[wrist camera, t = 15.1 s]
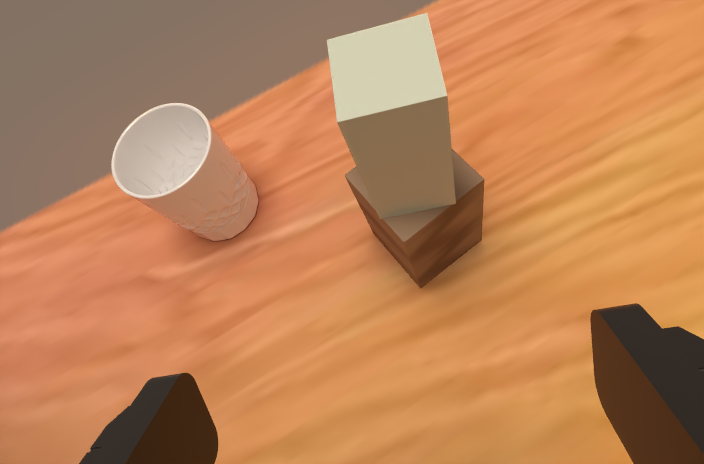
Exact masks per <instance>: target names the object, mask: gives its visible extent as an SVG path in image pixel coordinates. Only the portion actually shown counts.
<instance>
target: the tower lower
mask: <svg viewBox="0 0 704 464" xmlns="http://www.w3.org/2000/svg"><path fill="white" fill-rule="evenodd" d="M362 211H363V210H362ZM363 213H364V215H365V217H366V219H367V221H368V223H369V225H370V227H371V229H372V231H373V233H374V234H375V236H376V237H377V238H378V239H379V240H380V241H381V243H382V244H383V245H384V246H385V247H386V248H387V250H388V251H389V252H390V253H391V254H392V256H393V257H394V258H395V259H396V260H397V261H398V263H399V264H400V265H401V266H402V267H403V268H404V270H405V271H406V272H407V273H408V274H409V275H410V277H411V278H412V279H413V280H414V281H415V282H416V284H417V285H418V286H419V287H420V288H422V287H423V286H424V285H426V284H427V283H428V282H429V281H431V280H432V279H433V278H434V277H436V276H437V275H438V274H439V273H441V272H442V271H443V270H444V269H446V268H447V267H448V266H449V265H451V264H452V263H453V262H454V261H456V260H457V259H458V258H459V257H461V256H462V255H463V254H464V253H466V252H467V251H468V250H469V249H471V248H472V247H473V246H474V245H476V244H477V243H478V242H479V241H481V240H482V218H483V214H482V215H481V216H479V217H478V218H477V219H476V220H474V221H473V222H472V223H471V224H469V225H468V226H467V227H466V228H464V229H463V230H462V231H461V232H459V233H458V234H457V235H456V236H454V237H453V238H452V239H451V240H449V241H448V242H447V243H446V244H444V245H443V246H442V247H441V248H439V249H438V250H437V251H435V252H434V253H433V254H432V255H430V256H429V257H428V258H427V259H425V260H424V261H423V262H422V263H420V264H419V265H418V266H417V267H415V268H414V269H413V268H412V267H411V265H410V264H409V263H408V262H407V261H406V260H405V259H404V257H403V256H402V255H401V254H400V253H399V252H398V250H397V249H396V248H395V247H394V246H393V245H392V244H391V242H390V241H389V240H388V239H387V238H386V237H385V235H384V234H383V233H382V232H381V231H380V230H379V229H378V227H377V226H376V225H375V224H374V223H373V222H372V220H371V219H370V218H369V217H368V216H367V215H366V214H365V212H364V211H363Z"/></svg>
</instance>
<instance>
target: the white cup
mask: <svg viewBox="0 0 704 464" xmlns="http://www.w3.org/2000/svg"><path fill="white" fill-rule="evenodd" d="M112 174H113V177H114V180H115V182H116V183H117V185H118V186H119V188H120V189H121V190H122V191H124V192H125V193H127V194H128V195H130V196H132V197H133V198H135V199H137V200H138V201H140V202H141V203H143V204H145V205H146V206H148V207H150V208H151V209H153V210H154V211H156V212H158V213H159V214H161V215H163V216H164V217H166V218H168V219H170V220H171V221H173V222H175V223H177V224H178V225H180V226H182V227H183V228H185V229H188V230H190V231H192V232H193V233H195V234H197V235H198V236H200V237H203V238H206V239H209V240H212V241H219V240H226V239H231V238H232V237H234V236H235V235H237V234H239V233H240V232H242V231H244V230H245V229H246V227H247V226H248V225H249V223H250V222H251V221H252V219H253V218H254V217H255V214H256V210H257V206H258V202H259V199H258V195H257V190H256V186H255V185H254V183H253V182H252V181H251V180H250V178H249V177H248V176H247V174H246V173H245V171H244V169H243V167H242V166H241V164H240V163H239V161H238V160H237V159H236V157H235V156H234V154H233V153H232V151H231V150H230V148H229V147H228V146H227V145H226V143H225V142H224V141H223V139H222V138H221V137H220V135H219V134H218V133H217V131H216V130H215V129H214V127H213V126H212V125H211V123H210V122H209V121H208V119H207V118H206V117H205V115H204V114H203V113H202V112H201V111H200V110H198V109H197V108H195V107H193V106H191V105H187V104H182V103H171V104H164V105H161V106H158V107H155V108H153V109H150V110H148V111H147V112H145V113H143V114H142V115H141V116H139V117H138V118H136V119H135V120H134V121H133V122H132V123H131V124H130V125H129V126H128V127H127V128H126V129H125V131H124V132H123V134H122V135H121V137H120V138H119V140H118V142H117V144H116V146H115V149H114V152H113V156H112Z"/></svg>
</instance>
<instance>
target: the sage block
mask: <svg viewBox="0 0 704 464" xmlns="http://www.w3.org/2000/svg"><path fill="white" fill-rule="evenodd" d="M327 44H328V52H329V60H330V68H331V76H332V84H333V92H334V100H335V108H336V116H337V123H338V125H339V127H340V129H341V132H342V134H343V136H344V139H345V141H346V143H347V145H348V148H349V150H350V152H351V154H352V157H353V159H354V161H355V164H356V166H357V168H358V170H359V173H360V175H361V177H362V179H363V182H364V184H365V186H366V189H367V191H368V193H369V195H370V198H371V200H372V202H373V204H374V207H375V209H376V211H377V214H378V216H379V218H380V219H383V218H388V217H393V216H398V215H403V214H408V213H413V212H418V211H423V210H428V209H432V208H437V207H442V206H447V205H452V204H456V198H455V186H454V173H453V161H452V148H451V136H450V123H449V111H448V98H447V92H446V88H445V84H444V80H443V76H442V72H441V68H440V64H439V60H438V56H437V52H436V47H435V43H434V39H433V35H432V31H431V27H430V23H429V19H428V15H427V13H425V14H421V15H417V16H414V17H410V18H406V19H402V20H399V21H395V22H391V23H388V24H384V25H380V26H377V27H373V28H369V29H365V30H362V31H358V32H354V33H351V34H347V35H344V36H340V37H336V38H332V39H328V40H327Z"/></svg>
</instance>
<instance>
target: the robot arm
mask: <svg viewBox="0 0 704 464" xmlns="http://www.w3.org/2000/svg"><path fill="white" fill-rule="evenodd" d="M591 334H592V348H593V363H594V376H595V384H596V388H597V392H598V396H599V399H600V402H601V404H602V407H603V409H604V411H605V413H606V415H607V417H608V419H609V420H610V422H611V424H612V426H613V428H614V429H615V431H616V433H617V435H618V436H619V438H620V440H621V442H622V444H623V445H624V447H625V449H626V451H627V452H628V454H629V456H630V458H631V460H632V461H633V463H634V464H704V339H702V338H700V337H698V336H696V335H694V334H692V333H690V332H688V331H686V330H684V329H682V328H680V327H671V328H664V329H662V328H661V327H660V326H659V325H658V324H657V323H656V322H655V321H654V319H653V318H652V317H651V316H650V315H649V314H648V313H647V312H646V311H645V310H644V309H643V307H641V306H640V305H639V304H630V305H623V306H617V307H610V308H604V309H598V310H593V311H592V313H591ZM90 449H91V451H90V452H88V453H87V454H86V455H85V456H84V458H83V459H82V460H81V462H80V463H79V464H214V463H215V460H216V457H217V452H218V436H217V431H216V428H215V425H214V423H213V420H212V418H211V416H210V414H209V411H208V409H207V407H206V404H205V402H204V400H203V397H202V395H201V393H200V391H199V388H198V386H197V384H196V382H195V380H194V378H193V377H192V376H191V375H190V374H189V373H181V374H175V375H168V376H162V377H155V378H152V379H150V380H149V381H148V382H147V383H146V384H145V385H144V387H143V388H142V390H141V391H140V393H139V394H138V396H137V397H136V398H135V400H134V401H133V403H132V404H131V406H128V407H127V408H126V409H125V410H124V411H123V412H122V413H120V414H119V415H118V416H117V417H116V418H115V419H114V420H113V421H112V422H110V423H109V424H108V425H107V426H106V427H105V429H104V430H103V431H102V433H101V434H100V436H99V437H98V438H97V440H96V441H95V442H94V444H93V445H92V447H91V448H90Z"/></svg>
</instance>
